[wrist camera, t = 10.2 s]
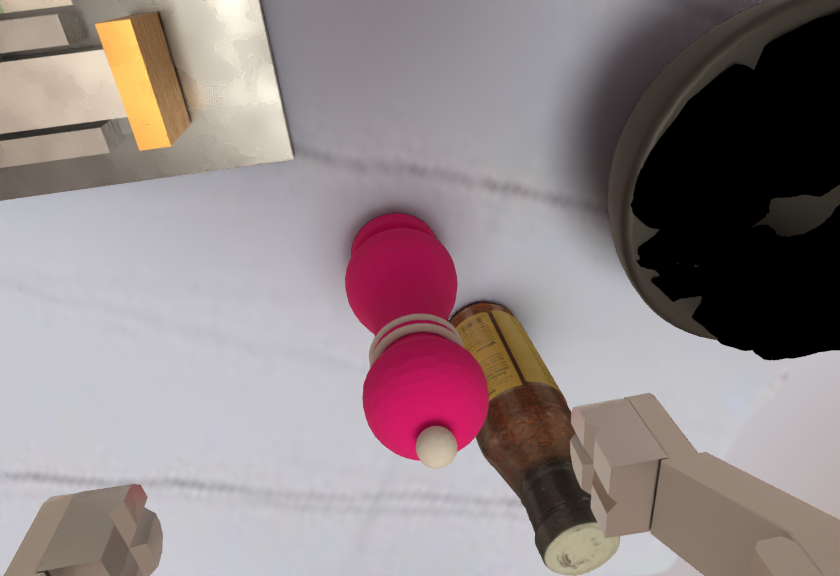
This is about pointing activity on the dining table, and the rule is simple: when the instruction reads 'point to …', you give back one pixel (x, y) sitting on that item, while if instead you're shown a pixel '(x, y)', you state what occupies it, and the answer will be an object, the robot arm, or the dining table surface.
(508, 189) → the dining table surface
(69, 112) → the plunger
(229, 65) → the bench
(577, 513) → the sauce bottle
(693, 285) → the coal bowl
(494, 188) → the dining table surface
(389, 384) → the pepper mill
